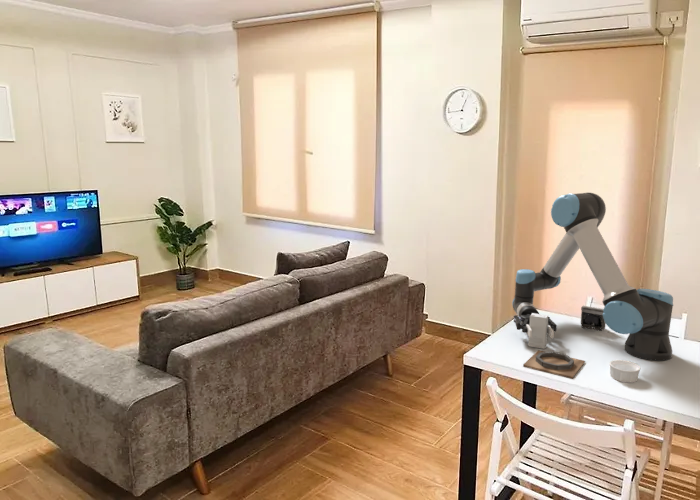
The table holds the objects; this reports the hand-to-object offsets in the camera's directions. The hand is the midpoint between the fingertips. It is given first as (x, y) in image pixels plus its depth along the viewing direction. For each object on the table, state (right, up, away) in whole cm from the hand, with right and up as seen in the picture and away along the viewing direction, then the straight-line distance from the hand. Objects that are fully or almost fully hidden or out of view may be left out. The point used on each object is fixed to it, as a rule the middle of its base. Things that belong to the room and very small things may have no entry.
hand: (541, 334), depth 194 cm
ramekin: (+20, -11, -20) cm, 30 cm away
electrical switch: (+30, -2, +25) cm, 39 cm away
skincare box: (+1, -6, +6) cm, 8 cm away
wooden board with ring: (+1, -9, -10) cm, 13 cm away
